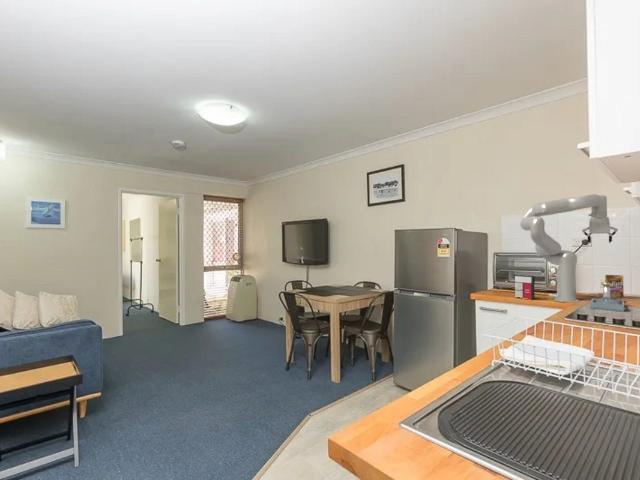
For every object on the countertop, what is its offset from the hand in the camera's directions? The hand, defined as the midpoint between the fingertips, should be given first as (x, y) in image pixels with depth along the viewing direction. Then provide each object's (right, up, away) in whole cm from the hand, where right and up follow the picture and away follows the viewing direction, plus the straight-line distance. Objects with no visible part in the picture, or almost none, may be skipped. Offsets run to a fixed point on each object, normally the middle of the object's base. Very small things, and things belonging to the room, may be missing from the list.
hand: (599, 242), depth 215 cm
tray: (-14, -36, -22) cm, 45 cm away
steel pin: (-14, -35, -22) cm, 44 cm away
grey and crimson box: (-41, -37, +11) cm, 56 cm away
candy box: (+17, -37, +9) cm, 41 cm away
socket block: (-1, -36, -8) cm, 37 cm away
